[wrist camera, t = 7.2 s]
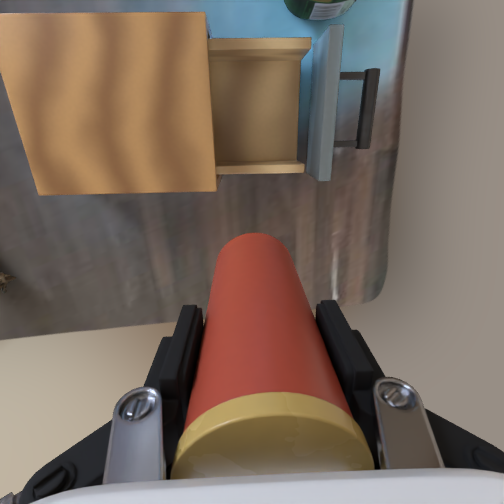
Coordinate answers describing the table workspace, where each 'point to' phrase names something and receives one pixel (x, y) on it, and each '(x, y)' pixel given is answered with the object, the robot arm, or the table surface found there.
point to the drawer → (281, 103)
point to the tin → (264, 377)
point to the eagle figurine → (5, 281)
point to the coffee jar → (318, 8)
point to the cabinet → (112, 100)
